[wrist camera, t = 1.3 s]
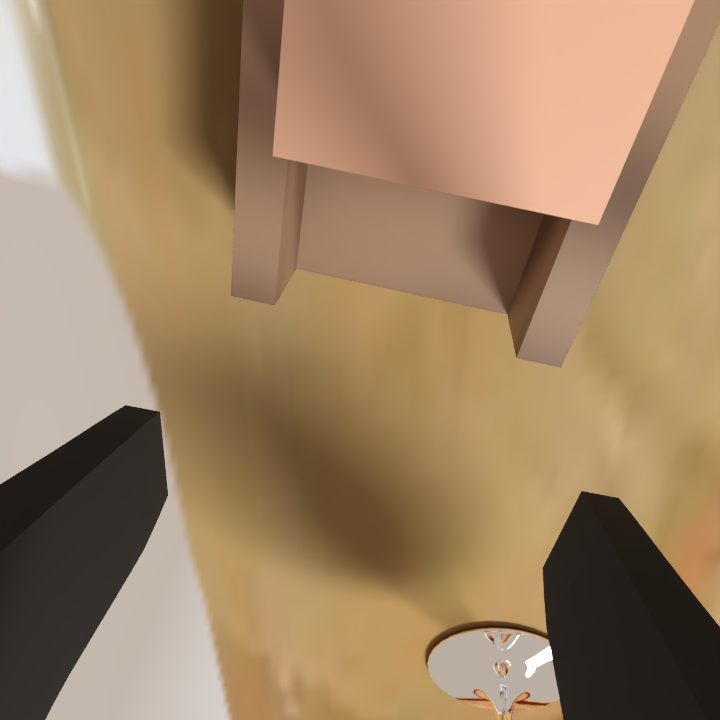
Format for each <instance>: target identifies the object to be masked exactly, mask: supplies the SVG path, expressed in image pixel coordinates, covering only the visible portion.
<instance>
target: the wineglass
mask: <svg viewBox="0 0 720 720" xmlns="http://www.w3.org/2000/svg"><path fill="white" fill-rule="evenodd" d="M427 665H428V672H429V674H430V676H431V678H432V680H433V681H434V683H435V684H436V685H437V686H438V687H439V688H440V689H441V690H443V691H444V692H445V693H447V694H448V695H450V696H452V697H453V698H455V699H457V700H459V701H462V702H464V703H467V704H470V705H473V706H477V707H481V708H487V709H492V710H494V712H495V716H496V720H512V717H513V711H517V710H528V709H535V708H539V707H542V706H546V705H549V704H551V703H553V702H556V701H558V700H559V699H560V698H559V693H558V688H557V682H556V677H555V672H554V666H553V661H552V655H551V650H550V645H549V639H546V638H544V637H542V636H539V635H537V634H534V633H530V632H526V631H523V630H517V629H510V628H496V627H490V628H477V629H472V630H466V631H462V632H459V633H457V634H454V635H451V636H449V637H447V638H446V639H444V640H442V641H441V642H440V643H438V644H437V645H436V646H435V647H434V648H433V650H432V651H431V653H430V655H429V658H428V662H427Z"/></svg>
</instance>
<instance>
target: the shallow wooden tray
mask: <svg viewBox="0 0 720 720" xmlns="http://www.w3.org/2000/svg"><path fill="white" fill-rule="evenodd" d="M284 2H285V0H243V19H242V43H241V67H240V91H239V115H238V139H237V163H236V187H235V211H234V235H233V259H232V283H231V296H234V297H239V298H243V299H248V300H253V301H257V302H262V303H266V304H271V305H275V304H276V302H277V300H278V299H279V297H280V295H281V294H282V292H283V290H284V288H285V287H286V285H287V283H288V282H289V280H290V278H291V277H292V275H293V273H294V272H295V270H296V269H299V270H304V271H309V272H313V273H318V274H323V275H327V276H332V277H337V278H341V279H346V280H350V281H355V282H360V283H364V284H369V285H374V286H378V287H383V288H387V289H392V290H397V291H401V292H406V293H411V294H415V295H420V296H424V297H429V298H434V299H438V300H443V301H448V302H452V303H457V304H462V305H466V306H471V307H475V308H480V309H485V310H489V311H494V312H499V313H503V314H508V319H509V324H510V329H511V334H512V338H513V343H514V348H515V353H516V358H519V359H524V360H528V361H533V362H538V363H542V364H547V365H551V366H556V367H562V364H563V362H564V360H565V358H566V356H567V354H568V351H569V349H570V347H571V345H572V343H573V340H574V338H575V336H576V334H577V332H578V330H579V327H580V325H581V323H582V321H583V319H584V317H585V314H586V312H587V310H588V308H589V306H590V303H591V301H592V299H593V297H594V295H595V293H596V290H597V288H598V286H599V284H600V282H601V280H602V277H603V275H604V273H605V271H606V269H607V267H608V264H609V262H610V260H611V258H612V256H613V253H614V251H615V249H616V247H617V245H618V243H619V240H620V238H621V236H622V234H623V232H624V230H625V227H626V225H627V223H628V221H629V219H630V216H631V214H632V212H633V210H634V208H635V206H636V203H637V201H638V199H639V197H640V195H641V193H642V190H643V188H644V186H645V184H646V182H647V180H648V177H649V175H650V173H651V171H652V169H653V166H654V164H655V162H656V160H657V158H658V156H659V153H660V151H661V149H662V147H663V145H664V143H665V140H666V138H667V136H668V134H669V132H670V129H671V127H672V125H673V123H674V121H675V119H676V116H677V114H678V112H679V110H680V108H681V106H682V103H683V101H684V99H685V97H686V95H687V92H688V90H689V88H690V86H691V84H692V82H693V79H694V77H695V75H696V73H697V71H698V69H699V66H700V64H701V62H702V60H703V58H704V56H705V53H706V51H707V49H708V47H709V45H710V42H711V40H712V38H713V36H714V34H715V32H716V29H717V27H718V25H719V23H720V0H695V1H694V3H693V5H692V8H691V10H690V12H689V15H688V17H687V19H686V22H685V24H684V26H683V29H682V31H681V33H680V36H679V38H678V40H677V43H676V45H675V47H674V50H673V52H672V54H671V57H670V59H669V61H668V64H667V66H666V68H665V71H664V73H663V75H662V78H661V80H660V82H659V85H658V87H657V89H656V92H655V94H654V96H653V99H652V101H651V103H650V106H649V108H648V110H647V113H646V115H645V117H644V120H643V122H642V124H641V127H640V129H639V131H638V134H637V136H636V138H635V141H634V143H633V145H632V147H631V150H630V152H629V154H628V157H627V159H626V161H625V164H624V166H623V168H622V171H621V173H620V175H619V178H618V180H617V182H616V185H615V187H614V189H613V192H612V194H611V196H610V199H609V201H608V203H607V206H606V208H605V210H604V213H603V215H602V217H601V220H600V222H599V224H598V225H595V224H591V223H586V222H581V221H576V220H572V219H567V218H562V217H557V216H553V215H548V214H543V213H539V212H534V211H529V210H524V209H520V208H515V207H510V206H506V205H501V204H496V203H491V202H487V201H482V200H477V199H473V198H468V197H463V196H458V195H454V194H449V193H444V192H440V191H435V190H430V189H425V188H421V187H416V186H411V185H406V184H402V183H397V182H392V181H388V180H383V179H378V178H373V177H369V176H364V175H359V174H355V173H350V172H345V171H340V170H336V169H331V168H326V167H322V166H317V165H312V164H307V163H303V162H298V161H293V160H289V159H284V158H279V157H274V156H273V144H274V131H275V118H276V105H277V92H278V80H279V67H280V54H281V41H282V28H283V15H284Z"/></svg>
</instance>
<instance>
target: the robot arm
mask: <svg viewBox="0 0 720 720" xmlns="http://www.w3.org/2000/svg"><path fill="white" fill-rule="evenodd" d="M167 496H168V490H167V480H166V469H165V459H164V449H163V439H162V429H161V419H160V412H158V411H153V410H147V409H142V408H137V407H131V406H126V405H125V406H124V407H122V408H120V409H119V410H117V411H116V412H114V413H112V414H111V415H109V416H108V417H106V418H104V419H103V420H102V421H100V422H98V423H97V424H95V425H93V426H92V427H90V428H89V429H87V430H86V431H84V432H83V433H81V434H80V435H78V436H76V437H75V438H73V439H72V440H70V441H69V442H67V443H66V444H64V445H62V446H61V447H59V448H58V449H56V450H55V451H53V452H51V453H50V454H49V455H47V456H45V457H44V458H42V459H40V460H39V461H37V462H35V463H34V464H32V465H31V466H29V467H27V468H26V469H24V470H23V471H21V472H20V473H18V474H16V475H15V476H13V477H12V478H10V479H8V480H7V481H5V482H3V483H2V484H0V720H45V719H46V717H47V715H48V713H49V711H50V709H51V707H52V705H53V703H54V701H55V700H56V698H57V696H58V694H59V692H60V690H61V689H62V687H63V685H64V683H65V681H66V680H67V678H68V676H69V674H70V673H71V671H72V669H73V668H74V666H75V664H76V663H77V661H78V659H79V658H80V656H81V654H82V653H83V651H84V649H85V648H86V646H87V644H88V643H89V641H90V639H91V638H92V636H93V634H94V633H95V631H96V629H97V627H98V626H99V624H100V622H101V621H102V619H103V618H104V616H105V614H106V613H107V611H108V609H109V608H110V606H111V604H112V603H113V601H114V599H115V598H116V596H117V594H118V593H119V591H120V589H121V588H122V586H123V584H124V582H125V581H126V579H127V577H128V576H129V574H130V572H131V571H132V569H133V567H134V566H135V564H136V562H137V560H138V558H139V557H140V555H141V553H142V552H143V550H144V548H145V546H146V544H147V542H148V539H149V537H150V535H151V533H152V531H153V528H154V526H155V524H156V522H157V520H158V517H159V515H160V513H161V510H162V508H163V505H164V503H165V501H166V499H167ZM543 581H544V600H545V613H546V625H547V633H548V639H549V645H550V650H551V655H552V661H553V666H554V672H555V677H556V682H557V688H558V693H559V698H560V703H561V708H562V714H563V719H564V720H720V627H719V625H718V624H717V623H716V622H715V621H714V619H713V618H712V617H711V616H710V614H709V613H708V612H707V611H706V609H705V608H704V607H703V606H702V604H701V603H700V602H699V601H698V599H697V598H696V597H695V595H694V594H693V593H692V592H691V590H690V589H689V588H688V587H687V585H686V584H685V583H684V581H683V580H682V579H681V578H680V576H679V575H678V574H677V572H676V571H675V570H674V569H673V567H672V566H671V565H670V563H669V562H668V561H667V559H666V558H665V557H664V556H663V554H662V553H661V552H660V550H659V549H658V548H657V546H656V545H655V544H654V543H653V541H652V540H651V539H650V537H649V536H648V535H647V533H646V532H645V531H644V529H643V528H642V527H641V526H640V524H639V523H638V522H637V520H636V519H635V518H634V517H633V515H632V514H631V513H630V511H629V510H628V509H627V508H626V506H625V505H624V504H623V503H622V502H621V500H620V499H619V498H615V497H610V496H604V495H599V494H594V493H588V492H583V491H582V492H581V494H580V496H579V497H578V499H577V501H576V503H575V505H574V507H573V509H572V511H571V513H570V515H569V517H568V519H567V521H566V523H565V525H564V527H563V529H562V531H561V533H560V535H559V537H558V539H557V541H556V543H555V545H554V547H553V549H552V551H551V553H550V555H549V557H548V559H547V561H546V563H545V565H544V567H543Z"/></svg>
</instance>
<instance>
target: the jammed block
mask: <svg viewBox="0 0 720 720" xmlns="http://www.w3.org/2000/svg"><path fill="white" fill-rule="evenodd" d="M694 1H695V0H285V2H284V15H283V28H282V41H281V54H280V67H279V80H278V92H277V105H276V118H275V131H274V144H273V156H274V157H279V158H284V159H289V160H293V161H298V162H303V163H307V164H312V165H317V166H322V167H326V168H331V169H336V170H340V171H345V172H350V173H355V174H359V175H364V176H369V177H373V178H378V179H383V180H388V181H392V182H397V183H402V184H406V185H411V186H416V187H421V188H425V189H430V190H435V191H440V192H444V193H449V194H454V195H458V196H463V197H468V198H473V199H477V200H482V201H487V202H491V203H496V204H501V205H506V206H510V207H515V208H520V209H524V210H529V211H534V212H539V213H543V214H548V215H553V216H557V217H562V218H567V219H572V220H576V221H581V222H586V223H591V224H595V225H598V224H599V222H600V220H601V217H602V215H603V213H604V210H605V208H606V206H607V203H608V201H609V199H610V196H611V194H612V192H613V189H614V187H615V185H616V182H617V180H618V178H619V175H620V173H621V171H622V168H623V166H624V164H625V161H626V159H627V157H628V154H629V152H630V150H631V147H632V145H633V143H634V141H635V138H636V136H637V134H638V131H639V129H640V127H641V124H642V122H643V120H644V117H645V115H646V113H647V110H648V108H649V106H650V103H651V101H652V99H653V96H654V94H655V92H656V89H657V87H658V85H659V82H660V80H661V78H662V75H663V73H664V71H665V68H666V66H667V64H668V61H669V59H670V57H671V54H672V52H673V50H674V47H675V45H676V43H677V40H678V38H679V36H680V33H681V31H682V29H683V26H684V24H685V22H686V19H687V17H688V15H689V12H690V10H691V8H692V5H693V3H694Z"/></svg>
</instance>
